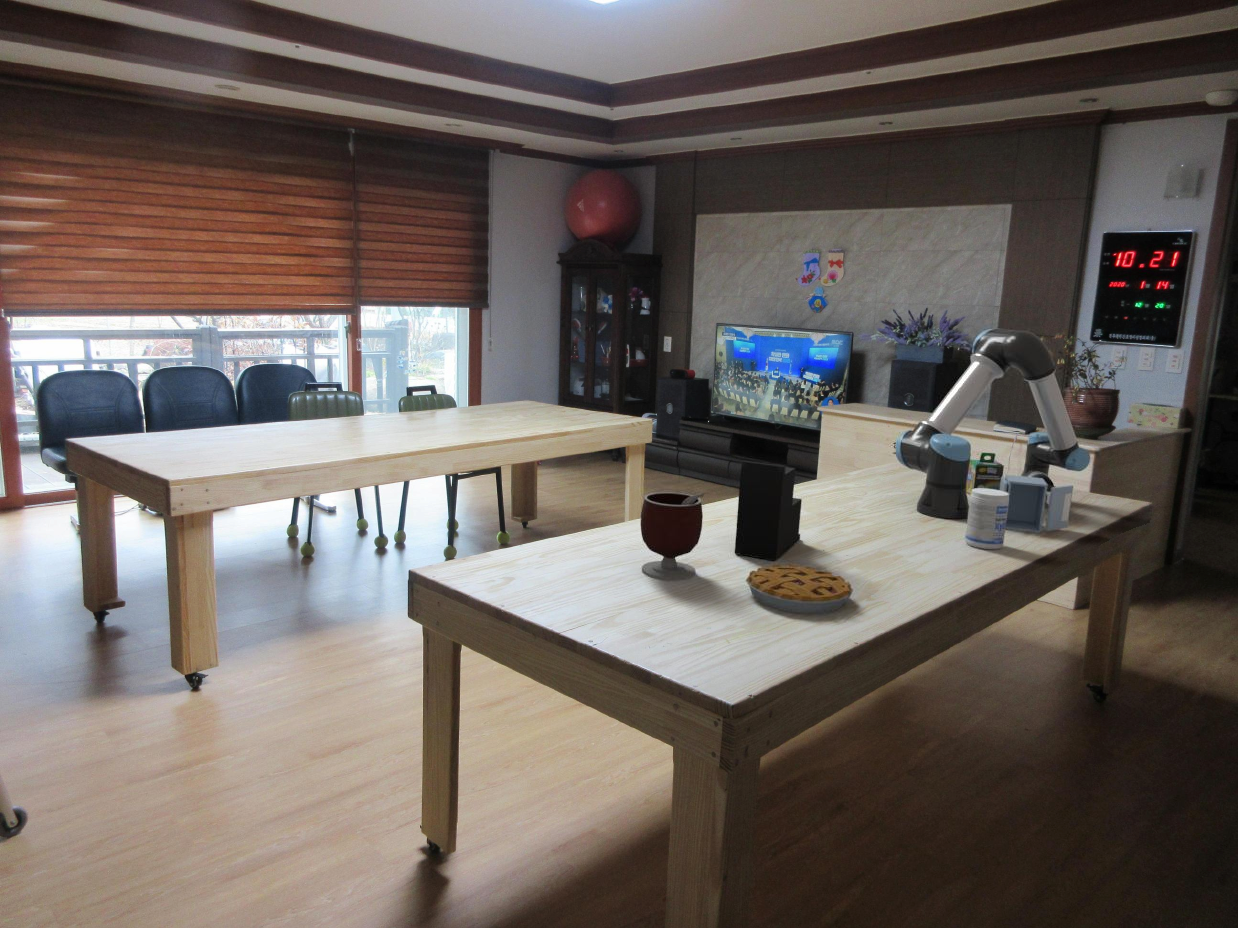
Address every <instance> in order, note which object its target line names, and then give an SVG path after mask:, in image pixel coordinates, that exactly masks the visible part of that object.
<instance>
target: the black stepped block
mask: <svg viewBox="0 0 1238 928" xmlns="http://www.w3.org/2000/svg"><path fill="white" fill-rule="evenodd" d="M740 463H741V464H740V466H741V467H740V475H739V487H738V488H739V489H738V500H737V501H738V503H737V515H736V531H735V543H734V554H735V555H742V556H747V557H751V558H758V559H763V560H764V559H765V560H770V561H778V559H779V558H781V557H782V556H783V555H784V554H785V553H786V552H788V551H789V550H790V549H791V548H792V547H793V546H795V544H797V543H798V542H799V541H800V540H801V533H800V523H801V510H802V498H796V497H794V491H795V490H794V489H795V477H796V468H795V467H788V466H785V465H780V464H772V463H765V462H756V461H749V460H741V462H740Z"/></svg>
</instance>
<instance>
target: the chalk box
mask: <svg viewBox="0 0 1238 928" xmlns="http://www.w3.org/2000/svg"><path fill="white" fill-rule="evenodd" d="M985 457H990V458H989V459H985ZM995 458H996V453H994V452H981V453H980V458H979V459H970V464H969V471H968V478H967V485H966V494H968V495H970V496H971V492H972V489H975V488H986V489H995V490H1000V482H1001V477H1004V469H1005V466H1004V464H1002V463H1001V462H998V461H997V460H995Z"/></svg>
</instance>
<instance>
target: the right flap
mask: <svg viewBox="0 0 1238 928" xmlns="http://www.w3.org/2000/svg"><path fill="white" fill-rule="evenodd" d="M1073 491H1074V485H1072V484H1068V485H1060V486H1055V487H1053V488H1051V494H1050V501H1049V505H1048V511H1047V515H1046V524H1045V531H1047V532H1050V531H1054V530H1055V531H1056V530H1060V529H1066V528H1068V526H1069V525H1068V524H1069V519H1070V513H1071V505H1072V500H1073V499H1072V498H1073Z"/></svg>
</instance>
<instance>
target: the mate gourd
mask: <svg viewBox="0 0 1238 928" xmlns="http://www.w3.org/2000/svg"><path fill="white" fill-rule="evenodd" d="M704 495H705V494H704V493H702V492H701V493H700V492H699V493H697V494H690V493H689V494H688V493H684V492H683V493H682V492H681V493H680V492H670V491H668V492H667V491H661V492H651V493H648V494H646V495H644V500H643V503H642V507H641V512H640V532H641V537H642V541H643V542H644V544H645V545H646V547H647V549H648V550H649V551H651V552H653V553H655V554H657V555H660V556H662V557H663V558H662V560H656V561H649V562H646V563H644V564H643V565H642V566H641V573H642V574H643V575H644V576H647V577H649V578H653V579H657V580H660V581H661V580H663V581H685V580H689V579H692V578H694V577H695V576H696V568H695V567H694V566H692V565H691V564H688V563H684V562H679V561H677V559H676V558H677V557H680V556H683V555H687V554H689V553H691V552H692V551H693V549H695V547H696V546H697V545H698V544H699V541H700V538H701V535H702V534H701V533H702V529H703V517H704V516H703V506H702V499H701V498H702V497H704Z"/></svg>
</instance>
